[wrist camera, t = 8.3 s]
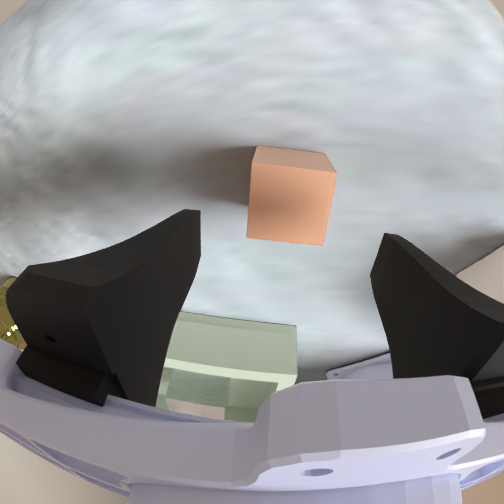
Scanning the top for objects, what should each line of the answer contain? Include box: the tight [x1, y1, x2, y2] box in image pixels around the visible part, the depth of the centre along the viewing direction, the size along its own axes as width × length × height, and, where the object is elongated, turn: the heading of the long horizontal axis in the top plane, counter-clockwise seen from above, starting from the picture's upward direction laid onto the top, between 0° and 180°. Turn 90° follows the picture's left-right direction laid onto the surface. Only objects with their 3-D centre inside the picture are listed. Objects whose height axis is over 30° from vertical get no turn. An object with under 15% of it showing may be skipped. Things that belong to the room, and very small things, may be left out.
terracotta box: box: [246, 146, 337, 246], centre depth 16 cm, size 4×4×4 cm
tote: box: [156, 312, 298, 423], centre depth 26 cm, size 15×15×5 cm
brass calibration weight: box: [0, 278, 27, 349], centre depth 23 cm, size 7×7×10 cm
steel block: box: [165, 368, 231, 420], centre depth 25 cm, size 5×5×5 cm
